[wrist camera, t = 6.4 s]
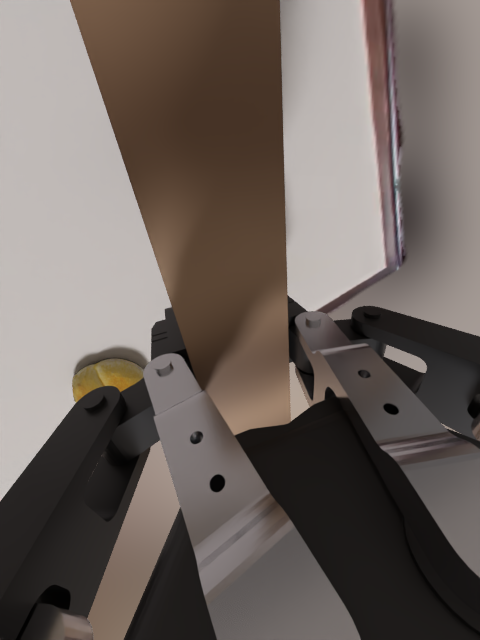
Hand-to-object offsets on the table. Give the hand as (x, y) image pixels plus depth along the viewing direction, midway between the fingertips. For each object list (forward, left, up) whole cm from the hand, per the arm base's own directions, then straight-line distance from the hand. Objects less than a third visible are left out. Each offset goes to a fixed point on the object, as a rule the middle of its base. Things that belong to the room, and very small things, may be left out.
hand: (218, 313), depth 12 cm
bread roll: (+16, -14, -19) cm, 29 cm away
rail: (0, 0, 0) cm, 0 cm away
